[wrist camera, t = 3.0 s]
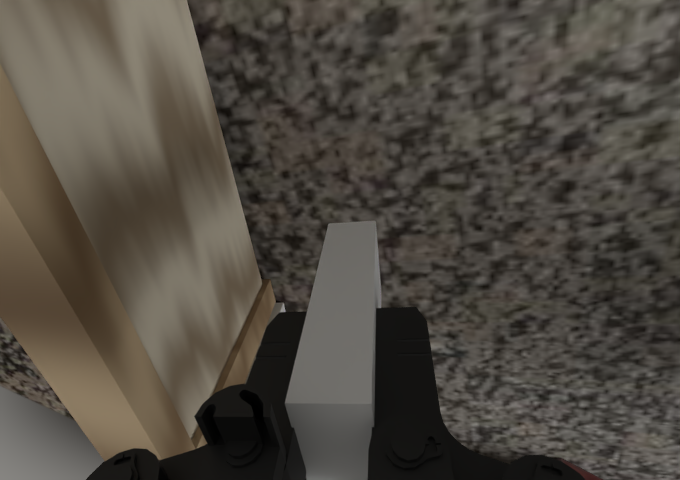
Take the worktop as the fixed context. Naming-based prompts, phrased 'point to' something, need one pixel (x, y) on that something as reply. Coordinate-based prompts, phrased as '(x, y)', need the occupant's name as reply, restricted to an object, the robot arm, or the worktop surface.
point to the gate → (122, 220)
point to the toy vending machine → (580, 471)
